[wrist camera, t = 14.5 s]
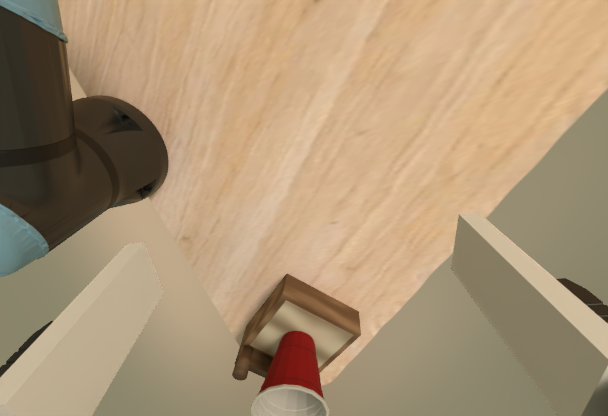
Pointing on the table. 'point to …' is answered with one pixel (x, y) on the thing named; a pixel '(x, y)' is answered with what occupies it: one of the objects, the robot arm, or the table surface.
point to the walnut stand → (296, 326)
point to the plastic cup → (292, 381)
